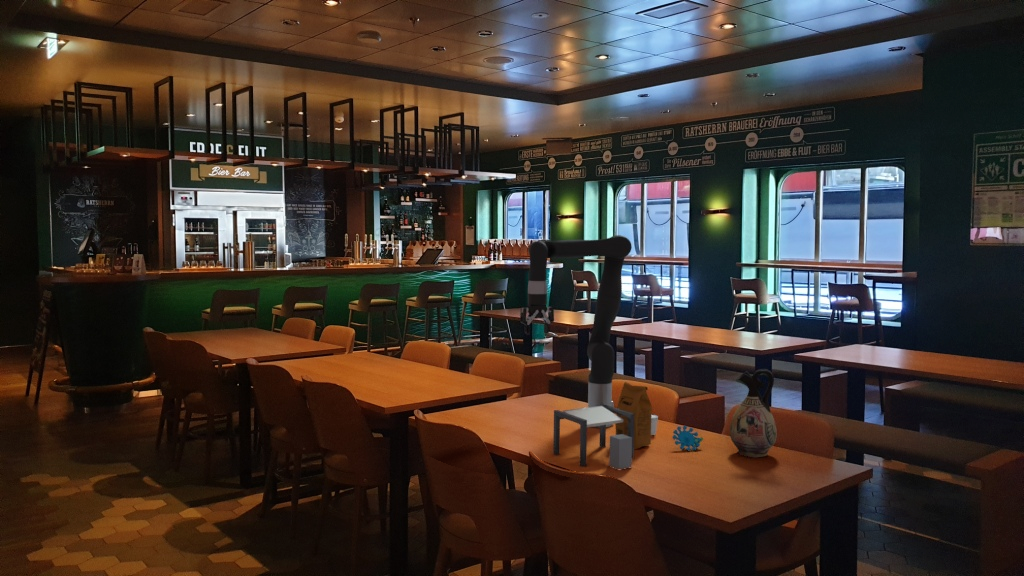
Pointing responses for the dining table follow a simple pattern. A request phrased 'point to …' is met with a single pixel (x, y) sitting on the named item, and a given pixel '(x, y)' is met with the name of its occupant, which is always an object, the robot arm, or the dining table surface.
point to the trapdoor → (595, 416)
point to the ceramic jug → (754, 418)
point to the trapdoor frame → (583, 430)
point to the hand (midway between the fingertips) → (537, 333)
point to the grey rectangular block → (620, 451)
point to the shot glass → (653, 424)
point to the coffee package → (639, 404)
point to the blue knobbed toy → (687, 438)
